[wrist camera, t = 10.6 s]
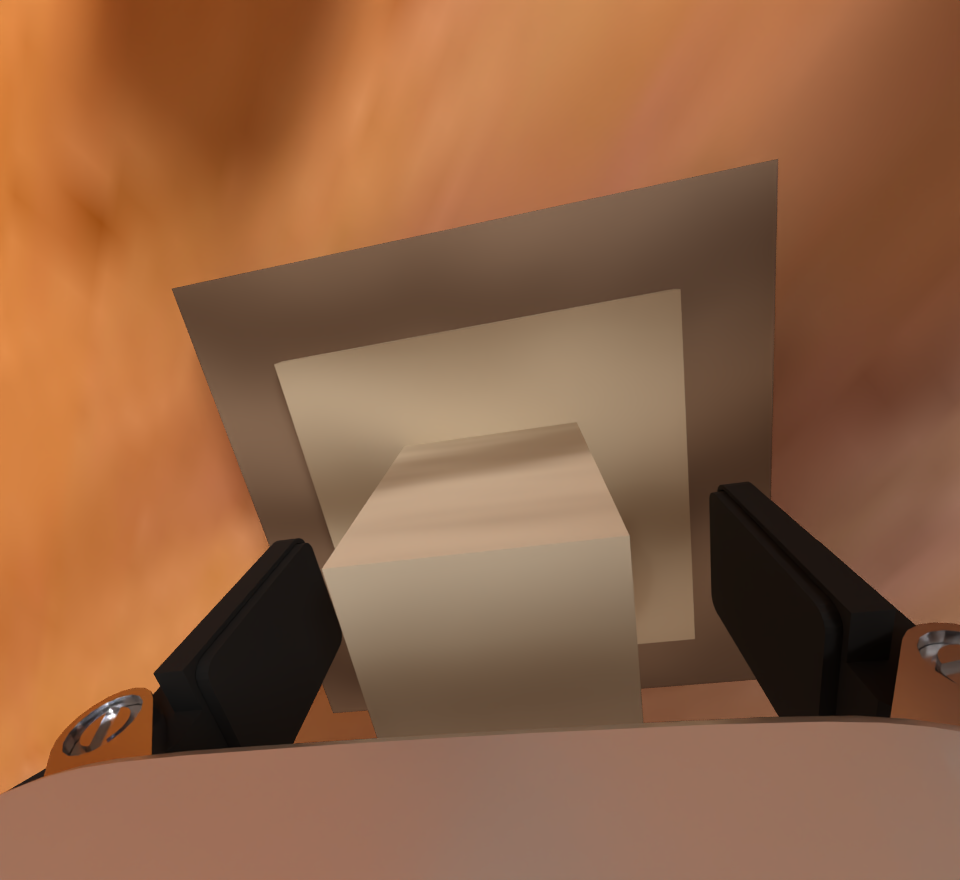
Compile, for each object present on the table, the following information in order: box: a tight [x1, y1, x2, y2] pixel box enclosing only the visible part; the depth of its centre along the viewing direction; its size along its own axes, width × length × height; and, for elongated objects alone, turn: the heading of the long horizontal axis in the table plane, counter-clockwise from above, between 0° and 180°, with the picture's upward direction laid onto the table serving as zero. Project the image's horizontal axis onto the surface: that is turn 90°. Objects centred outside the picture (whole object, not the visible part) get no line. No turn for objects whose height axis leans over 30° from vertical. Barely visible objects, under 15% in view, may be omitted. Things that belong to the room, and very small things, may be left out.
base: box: [172, 159, 778, 713], centre depth 15 cm, size 16×16×2 cm
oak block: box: [322, 422, 643, 738], centre depth 11 cm, size 5×5×6 cm
